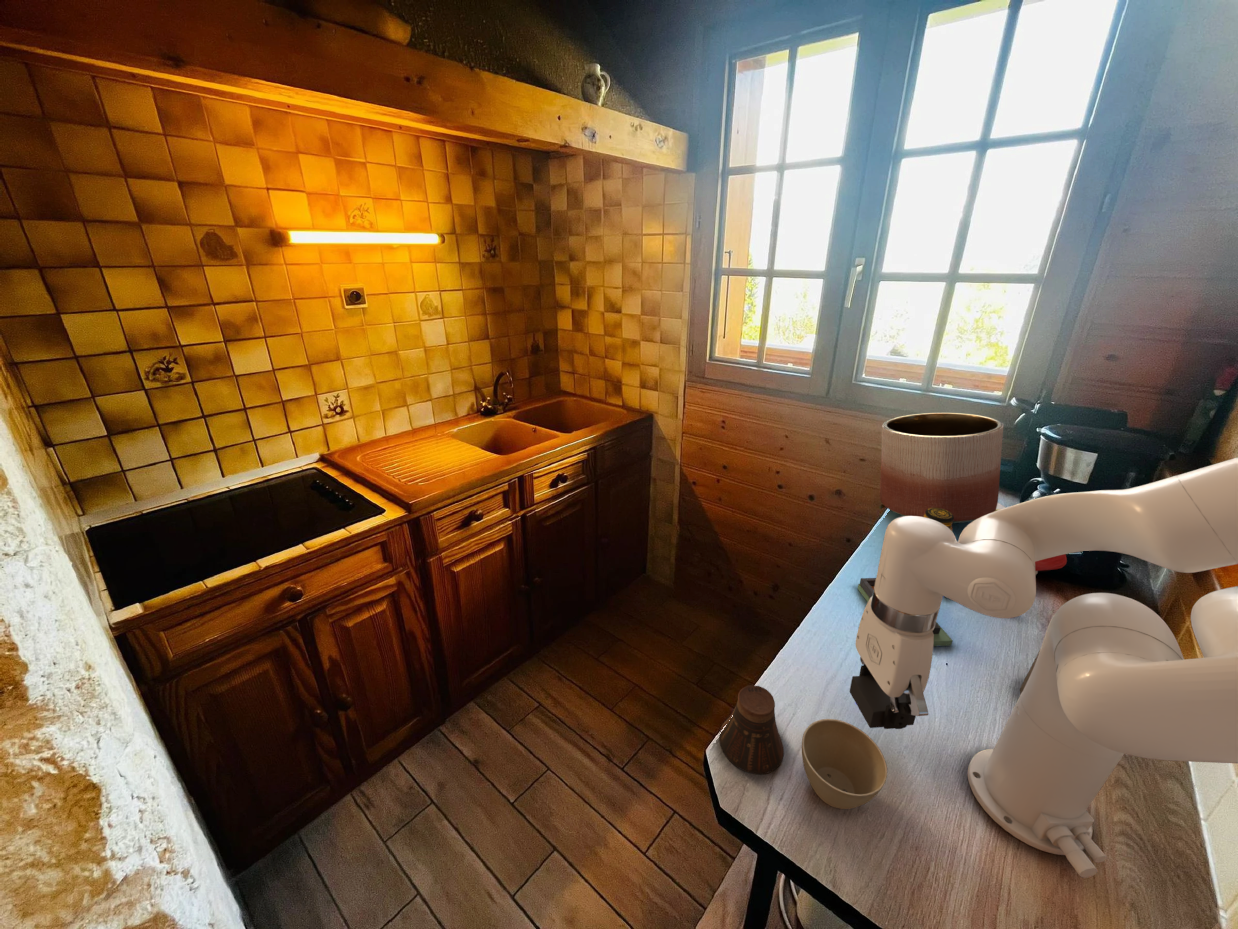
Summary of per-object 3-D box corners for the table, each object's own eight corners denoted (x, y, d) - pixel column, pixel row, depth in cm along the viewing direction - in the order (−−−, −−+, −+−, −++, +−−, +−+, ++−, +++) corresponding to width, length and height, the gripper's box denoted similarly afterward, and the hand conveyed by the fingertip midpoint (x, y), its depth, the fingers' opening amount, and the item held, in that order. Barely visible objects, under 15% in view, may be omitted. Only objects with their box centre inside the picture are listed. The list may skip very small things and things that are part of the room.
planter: (906, 483, 144) (908, 409, 137) (1012, 501, 124) (1021, 416, 117) (861, 511, 130) (862, 430, 123) (973, 536, 110) (980, 442, 103)
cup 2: (814, 715, 65) (794, 757, 70) (763, 664, 71) (748, 706, 76) (769, 749, 60) (751, 791, 66) (719, 692, 67) (706, 734, 72)
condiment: (908, 562, 109) (922, 516, 104) (908, 542, 116) (921, 498, 111) (946, 571, 106) (962, 524, 101) (943, 551, 113) (959, 506, 108)
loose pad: (913, 725, 69) (918, 709, 67) (869, 728, 68) (873, 712, 67) (889, 689, 74) (893, 673, 73) (849, 691, 74) (852, 676, 73)
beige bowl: (780, 788, 65) (787, 754, 62) (814, 739, 71) (823, 705, 68) (856, 850, 58) (868, 814, 55) (886, 789, 65) (899, 754, 62)
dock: (951, 645, 87) (955, 634, 86) (900, 647, 87) (904, 636, 86) (900, 587, 101) (903, 576, 100) (857, 588, 101) (859, 577, 100)
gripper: (844, 569, 72) (829, 661, 79) (914, 659, 56) (887, 764, 63) (895, 566, 72) (875, 658, 79) (978, 655, 56) (944, 760, 63)
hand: (880, 704), depth 71 cm, fingers closed on loose pad, 6 cm apart
